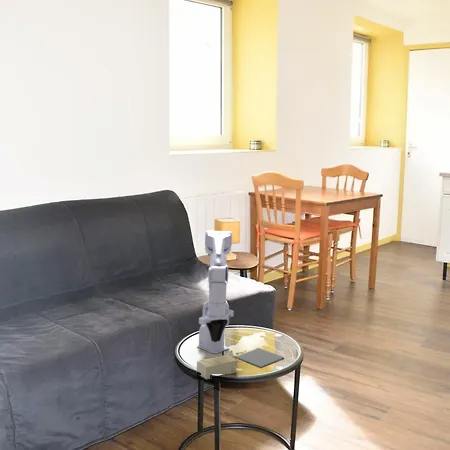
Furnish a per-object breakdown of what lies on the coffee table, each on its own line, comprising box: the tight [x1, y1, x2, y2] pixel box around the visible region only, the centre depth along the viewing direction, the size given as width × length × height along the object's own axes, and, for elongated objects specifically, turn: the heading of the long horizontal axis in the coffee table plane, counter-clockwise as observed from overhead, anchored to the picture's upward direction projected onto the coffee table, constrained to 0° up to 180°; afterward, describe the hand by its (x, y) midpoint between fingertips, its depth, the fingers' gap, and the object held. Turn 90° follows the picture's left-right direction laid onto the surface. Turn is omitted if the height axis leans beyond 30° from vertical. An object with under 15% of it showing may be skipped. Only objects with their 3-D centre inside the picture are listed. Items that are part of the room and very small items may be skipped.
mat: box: [234, 347, 285, 369], centre depth 206 cm, size 12×13×1 cm
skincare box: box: [196, 354, 238, 380], centre depth 191 cm, size 6×4×12 cm
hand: (215, 340), depth 192 cm, fingers closed
